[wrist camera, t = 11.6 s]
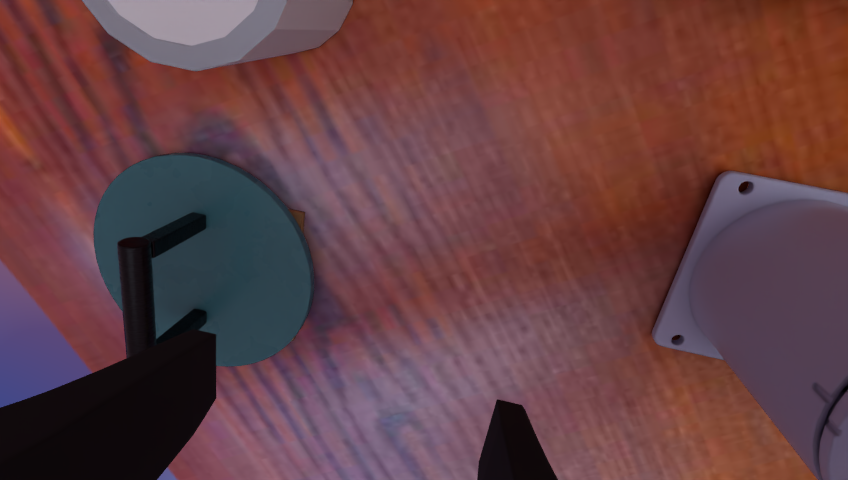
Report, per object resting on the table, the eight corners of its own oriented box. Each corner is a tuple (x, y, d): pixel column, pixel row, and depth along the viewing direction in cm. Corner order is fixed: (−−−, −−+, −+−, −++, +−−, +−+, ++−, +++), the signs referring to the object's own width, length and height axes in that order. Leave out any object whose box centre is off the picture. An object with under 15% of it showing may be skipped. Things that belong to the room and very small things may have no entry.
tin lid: (329, 176, 20) (272, 215, 15) (310, 374, 24) (259, 459, 19) (101, 129, 21) (-29, 150, 16) (119, 328, 25) (20, 397, 20)
